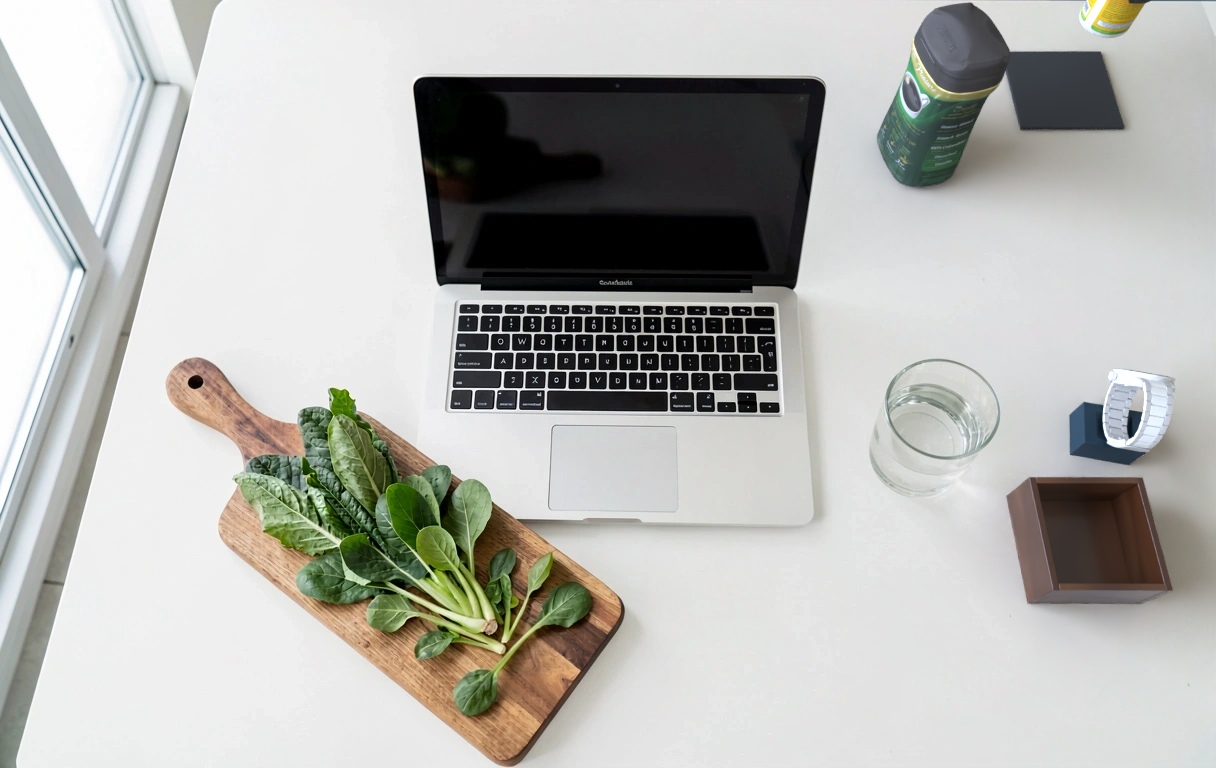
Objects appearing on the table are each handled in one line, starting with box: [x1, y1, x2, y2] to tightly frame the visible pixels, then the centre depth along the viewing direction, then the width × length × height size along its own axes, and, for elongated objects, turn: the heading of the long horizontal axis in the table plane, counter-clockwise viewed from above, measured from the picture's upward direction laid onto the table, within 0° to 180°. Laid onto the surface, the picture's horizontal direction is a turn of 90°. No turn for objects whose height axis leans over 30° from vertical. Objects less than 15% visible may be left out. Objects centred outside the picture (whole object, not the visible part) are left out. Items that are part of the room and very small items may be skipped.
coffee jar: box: [876, 1, 1011, 188], centre depth 95 cm, size 10×8×19 cm
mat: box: [1005, 50, 1126, 131], centre depth 108 cm, size 12×12×1 cm
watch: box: [1068, 368, 1176, 466], centre depth 83 cm, size 6×8×11 cm
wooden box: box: [1006, 476, 1174, 605], centre depth 81 cm, size 10×10×5 cm
